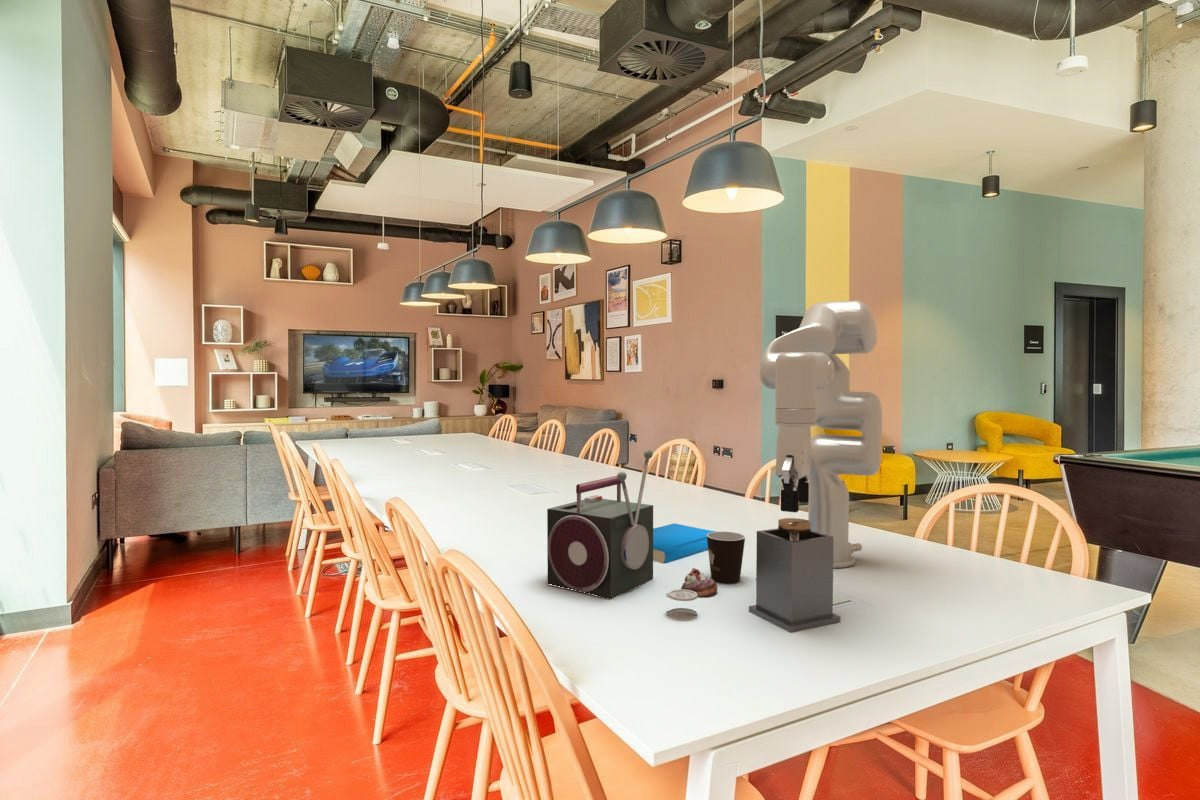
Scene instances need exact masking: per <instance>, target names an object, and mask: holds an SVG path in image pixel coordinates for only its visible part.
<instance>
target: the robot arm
mask: <svg viewBox="0 0 1200 800" xmlns="http://www.w3.org/2000/svg"><path fill="white" fill-rule="evenodd" d="M877 340H878V331H877V326H876V323H875V319H874V316H873V313H872V310H871V308H870V307H869V306H868V304H866V303H865V302H863V301H861V300H855V299H854V300H838V301H822V302H821V301H820V302H817V303H815V304H812V305H811V306H810V307H809V308H808V309H807V310H806V311H805V314H804V316H803V318H802V320H801V322H800V325H799V327H798V328H796V329H793V330H792V331H789V332H787V333H785V334H783V335H781V336H779V337H777V338H775V339H774V340H772V341H770V343H769V344H768V346H767V347H766V349H765V351H764V353H763V355H762V358H761V361H760V364H759V373H758V374H759V377H760V378H759V379H760V381H761V383H762V385H763V386H764V387H765V388H768V389H771V390H775V396H774V397H775V406H774V407H775V409H774V411H775V412H774V417H775V418H774V423H775V426H778V429H777V431H778V433H777V437H776V438H777V441H776V457H775V459H776V460H775V476H776V477H777V478H779V479H780V478H781V483H780V511H781V512H787V513H788V512H789V513H798V512H799V510H800V507H799V505H800V503H805V504H806V503H808V521H810V522H811V530H812V531H815V532H818V533H822V534H825V535H829V536H832V537H833V569H835V568H836V569H838V568H839V569H840V568H848V567H852V566H854V565H855V563H856V558H855V557H854V556H853V555H852V553H854V552H861V551H862V550H863V546H862V544H861V543H860V542H858V543H853V544H852V543H851V542H849V527H850V526H849V522H850V521H849V519H850V517H849V514H850V512H849V511H850V508H849V507H850V493H849V489H848V487H847V485H846V483H844V481H843V480H842V478H841V477H840V476H839V475H852V476H874V475H876V474H877V473H878V472H879V470H880V468H881V464H882V463H881V462H882V431H883V430H882V428H883V427H882V424H883V423H882V422H883V421H882V420H883V417H882V411H883V410H882V403H881V400H880V398H879V396H878V395H877V394H876V393H874V392H872V391H871V392H870V391H851V390H850V382H851V381H850V379H851V378H850V376H851V375H850V370H849V368H848V366H847V365H846V364H845V362H844V361H843V360H842V359H841V357H839V356H838V355H851V354H852V355H854V354H855V355H856V354H863V355H864V354H868V353H870V352H873V350H874V349H875V346H876V344H877ZM815 426H816V427H818V428H821V429H825V430H839V431H840V430H842V431H856V432H857V431H858V432H860V434H861V435H844V434H819V435H818V434H817V435H814V436H812V433H811V430H812V429H811V427H815ZM811 436H812V437H811Z"/></svg>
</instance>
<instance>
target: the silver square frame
mask: <svg viewBox="0 0 1200 800" xmlns="http://www.w3.org/2000/svg"><path fill="white" fill-rule="evenodd" d="M755 567H756V571H755V572H756V573H755V574H756V575H755V577H756V578H755V580H756V581H755V582H756V583H755V584H756V585H755V586H756V587H755V588H756V591H755V592H756V593H755V602H756V603H755V604H754V605H749V606H748V612H750V613H752V614H754V615H755V616H757V617H760V618H762V619H763V620H766V621H767V622H769V623H771V624H774V625H775V626H777V627H779V628H780V629H783V630H785V631H787V632H789V633H794V632H799V631H803V630H804V631H805V630H808V629H813V628H819V627H823V626H828V625H833V624H837V622H838V623H840V622H841V621H842V620H841V619H842V618H841V616H840V615H837V614H836V613H833V611H834V610H833V609H834V607H833V606H834V605H833V604H834V603H833V602H834V598H833V597H834V568H833V537H832V536H829V535H825V534H822V533H818V532H815V531H812V530H811V531H810V532H806V533H799V540H797V541H790V532H785V531H781V530H779V529H778V528H770V529H762V530H756V566H755Z"/></svg>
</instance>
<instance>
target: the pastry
mask: <svg viewBox="0 0 1200 800" xmlns="http://www.w3.org/2000/svg"><path fill="white" fill-rule="evenodd" d="M680 589H685V590H691V591H694V592H696V593H697V598H709V597H712V596H713V595H715V594H716V592H718V583H717V582H715V581H714V580H713V579H711V577H708V576H706V575H705V574H704V572H702V571H700V570H699V569H697V568H694V567H693V568H692V569H691V571H690V572H689V573H688V574H687V575H686V576H685V578H684V582H683V583H682V585H681V588H680Z"/></svg>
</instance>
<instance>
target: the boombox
mask: <svg viewBox="0 0 1200 800" xmlns="http://www.w3.org/2000/svg"><path fill="white" fill-rule="evenodd" d="M653 454H654V453H653V451H652V450H651V449H646V450H644V452H643V457H644V458H645V461H644V466H643V469H642V476H641V482H640V488H639V493H638V498H637V502H631V501H630V499H629V494H628V489H627V485H626V479H627V476H628V475H627V473H626V472H625V471H623V470H621V471H619V472H618V473H617V474H616V475H614V476H608V477H604V478H600V479H597V480H591V481H588V482H587V481H586V482H583V483H578V484H576V486H575V487H576V488H575V492H576V501H574V502H573V501H572V502H569V503H565V504H560V505H558V506H554V507H549V508H547V509H546V510H547V511H546V513H547V516H546V518H547V519H546V520H547V521H546V522H547V524H546V525H547V528H546V529H547V539H546V541H547V542H546V543H547V544H546V545H547V554H546V555H547V585H548V584H552V585H556V586H560V587H564V588H569V589H573V590H576V591H581V592H585V593H590V594H594V595H597V596H601V597H604V598H603V599H606V598H609V599H608V600H610V599H611V600H613V599H615V598H617V597H616V596H618V595H620V594H622V593H624V594H626V593H627V591H628V592H630V591H632V590H634V589H636V588H638V587H640V586H642V585H645V584H647V583H648V582H651V581H653V580H654V561H653V529H654V505H653V504H645V503H642V501H643V500H642V499H643V494H644V488H645V482H646V477H647V472H648V466H649V461H650V459H651V458H652V457H653ZM612 486H616V499H607V498H603V495H597V494H596V495H595V494H594V495H590V496H586V497H585V498H583V499H582V494H583V493H587V492H591V491H596V490H600V489H604V488H605V489H606V488H609V487H612ZM622 491H623V495H624V500H625V501H622ZM652 579H653V580H652ZM650 580H651V581H650ZM639 585H640V586H639ZM635 587H636V588H635ZM633 588H634V589H633ZM631 589H632V590H631ZM629 590H630V591H629ZM576 591H575V592H576ZM625 592H626V593H625ZM622 595H623V594H622ZM597 596H596V597H597ZM620 596H621V595H620ZM601 597H600V598H601ZM614 597H615V598H614ZM618 597H619V596H618ZM612 598H613V599H612Z"/></svg>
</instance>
